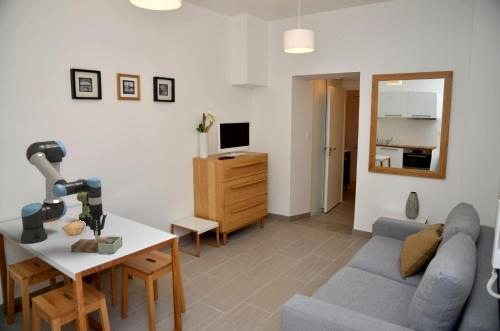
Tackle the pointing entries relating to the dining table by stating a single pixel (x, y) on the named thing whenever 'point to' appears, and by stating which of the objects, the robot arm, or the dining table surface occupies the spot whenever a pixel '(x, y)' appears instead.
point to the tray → (110, 246)
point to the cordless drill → (84, 206)
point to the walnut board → (85, 246)
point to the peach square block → (102, 240)
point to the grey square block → (110, 241)
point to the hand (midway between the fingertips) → (97, 240)
